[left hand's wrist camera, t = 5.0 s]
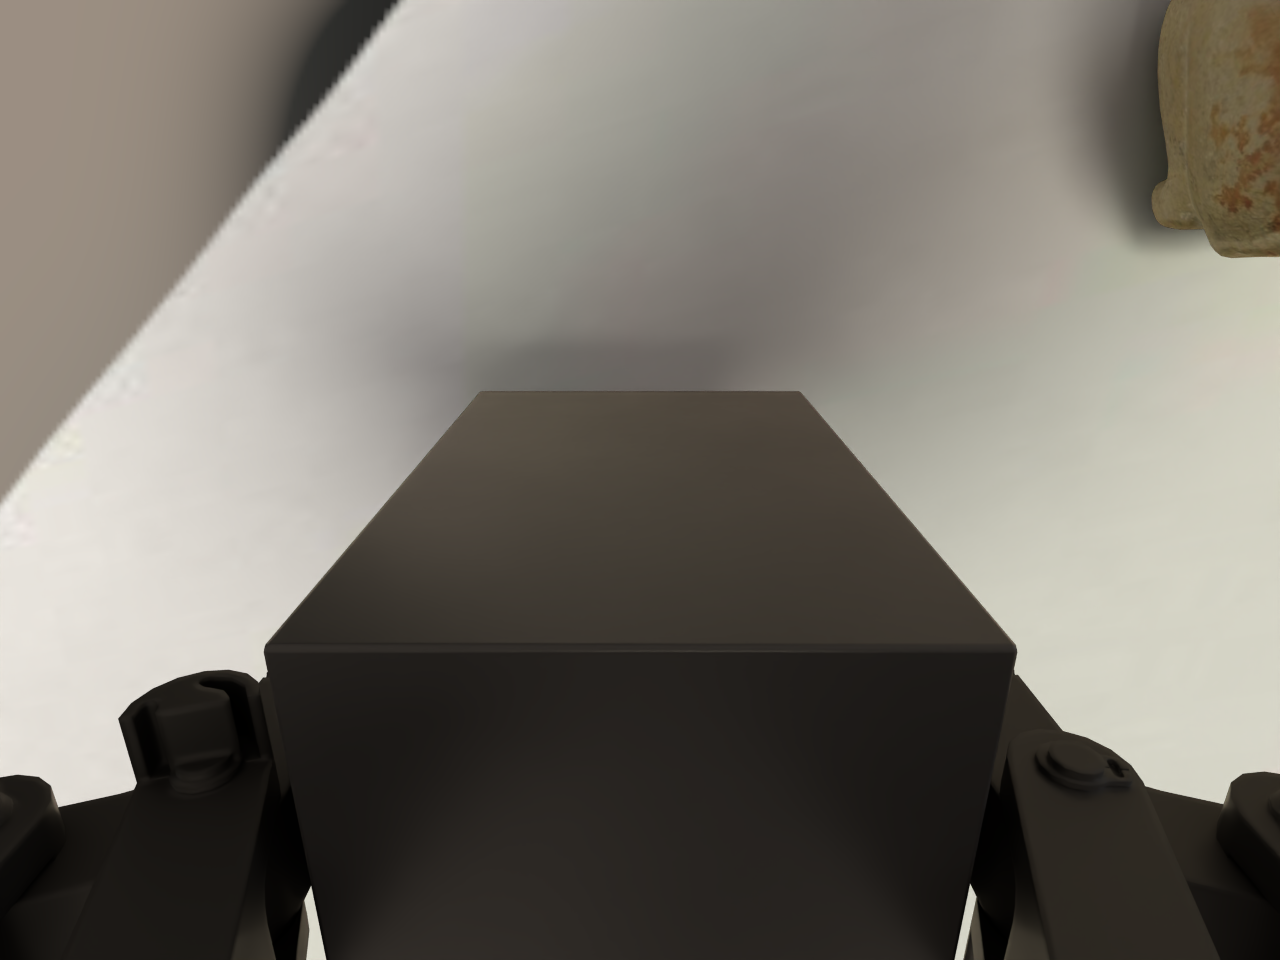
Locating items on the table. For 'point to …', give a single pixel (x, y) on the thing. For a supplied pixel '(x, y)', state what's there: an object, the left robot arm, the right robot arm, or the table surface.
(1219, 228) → the sculpture
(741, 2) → the table surface
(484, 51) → the table surface
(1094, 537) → the table surface
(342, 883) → the bar
